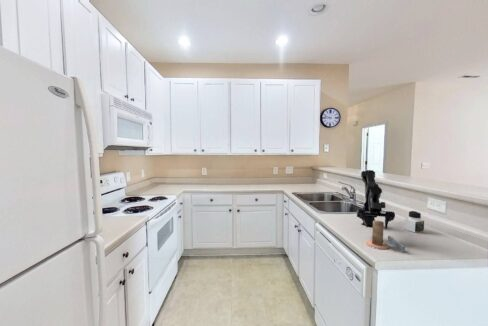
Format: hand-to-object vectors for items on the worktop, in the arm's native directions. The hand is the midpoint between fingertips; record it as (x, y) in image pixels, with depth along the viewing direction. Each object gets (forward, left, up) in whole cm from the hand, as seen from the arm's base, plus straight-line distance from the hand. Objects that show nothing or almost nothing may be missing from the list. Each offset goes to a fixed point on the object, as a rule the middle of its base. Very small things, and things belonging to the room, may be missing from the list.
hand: (376, 228), depth 128 cm
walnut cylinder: (+3, -3, -7) cm, 8 cm away
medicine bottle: (-3, +38, -8) cm, 39 cm away
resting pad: (+3, -3, -8) cm, 9 cm away
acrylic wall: (+8, +4, -8) cm, 12 cm away
